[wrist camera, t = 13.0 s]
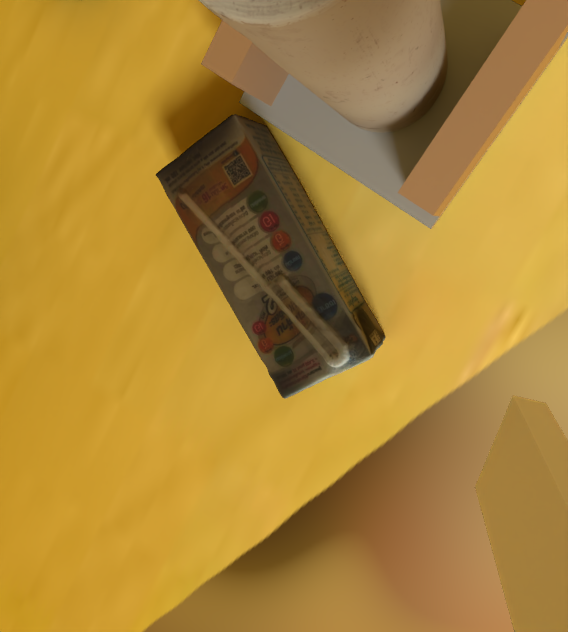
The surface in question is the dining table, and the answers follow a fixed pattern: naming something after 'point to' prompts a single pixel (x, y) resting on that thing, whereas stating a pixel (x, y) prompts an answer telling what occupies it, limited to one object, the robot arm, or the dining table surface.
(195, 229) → the beverage carton
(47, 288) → the dining table surface
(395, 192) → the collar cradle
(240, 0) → the thermos bottle
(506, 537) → the robot arm
